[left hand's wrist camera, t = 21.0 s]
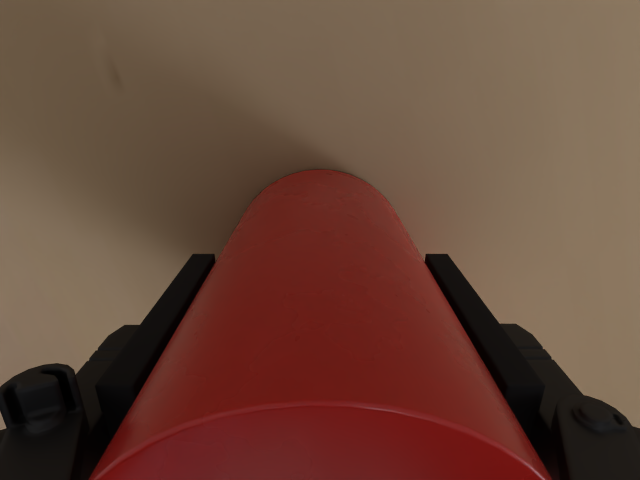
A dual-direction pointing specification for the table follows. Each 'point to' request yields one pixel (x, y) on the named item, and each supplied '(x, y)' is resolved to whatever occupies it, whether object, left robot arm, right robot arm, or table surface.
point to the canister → (320, 359)
